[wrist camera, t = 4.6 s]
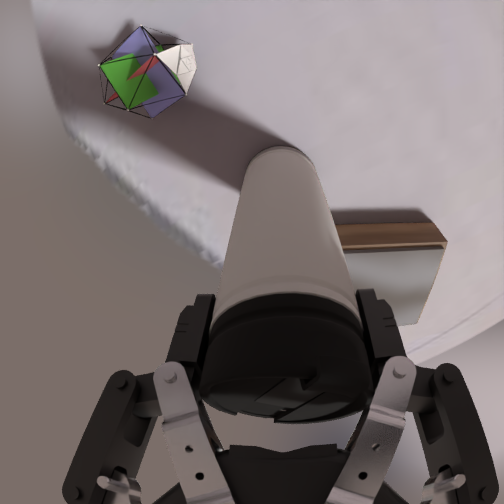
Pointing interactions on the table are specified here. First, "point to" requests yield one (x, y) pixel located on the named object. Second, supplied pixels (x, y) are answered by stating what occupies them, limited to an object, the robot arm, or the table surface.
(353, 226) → the square wooden framed mirror
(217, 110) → the table surface
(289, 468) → the robot arm
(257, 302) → the travel mug
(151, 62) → the geometric puzzle
